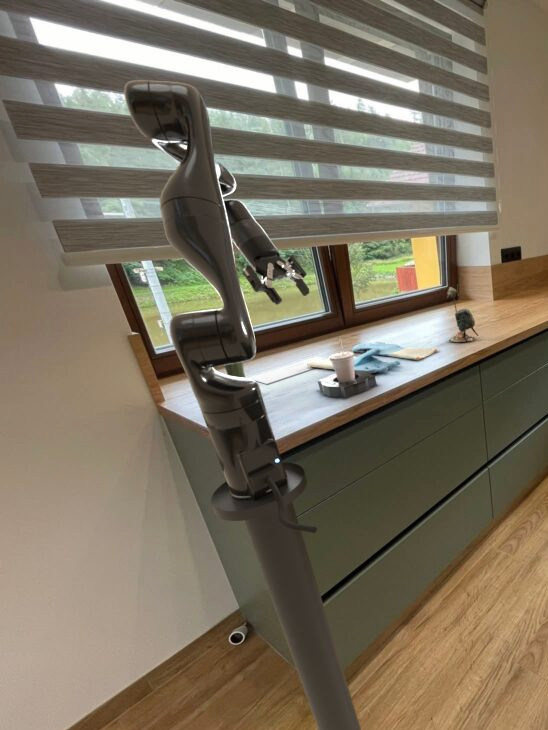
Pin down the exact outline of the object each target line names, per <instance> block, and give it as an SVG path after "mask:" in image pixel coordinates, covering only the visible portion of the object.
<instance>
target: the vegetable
mask: <svg viewBox="0 0 548 730" xmlns="http://www.w3.org/2000/svg"><path fill="white" fill-rule="evenodd" d="M223 366H224V368H225V371H226V375H230V376H235V377H242V378H247V377H246V375H245V370H244V362H240V363H235V364H229V365H223Z"/></svg>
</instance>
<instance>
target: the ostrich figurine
mask: <svg viewBox="0 0 548 730" xmlns="http://www.w3.org/2000/svg"><path fill="white" fill-rule="evenodd" d="M457 292H458V291H457V289H456V288H454V287H453V286H450V287H448V289H447V292H446V295H447V296H446V299H448V298H452V302H453V304H454V309H455V313H454V317H455V320H456V321H455V322H456V326H457V328H458V331H457V334H455V335H453V337H451V338H450V339H448V341H449V342H454V343H455V342H456V343H464V342H465V343H466V342H473V341H474V340H475V337H474V336H472V335H468V333H467V330H469V329H471V330H472V332H473V333H474V334H475V335H476V336H477V337H479V335H480V334H478V332H476V330H475V328H474V327H475V325H476V321H475V318H474V316H473V313H472V312H471V311H470V310H469V309H468V308H463V309H459V310H458V309H457V305H456V300H455V298H456V296H457Z"/></svg>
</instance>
